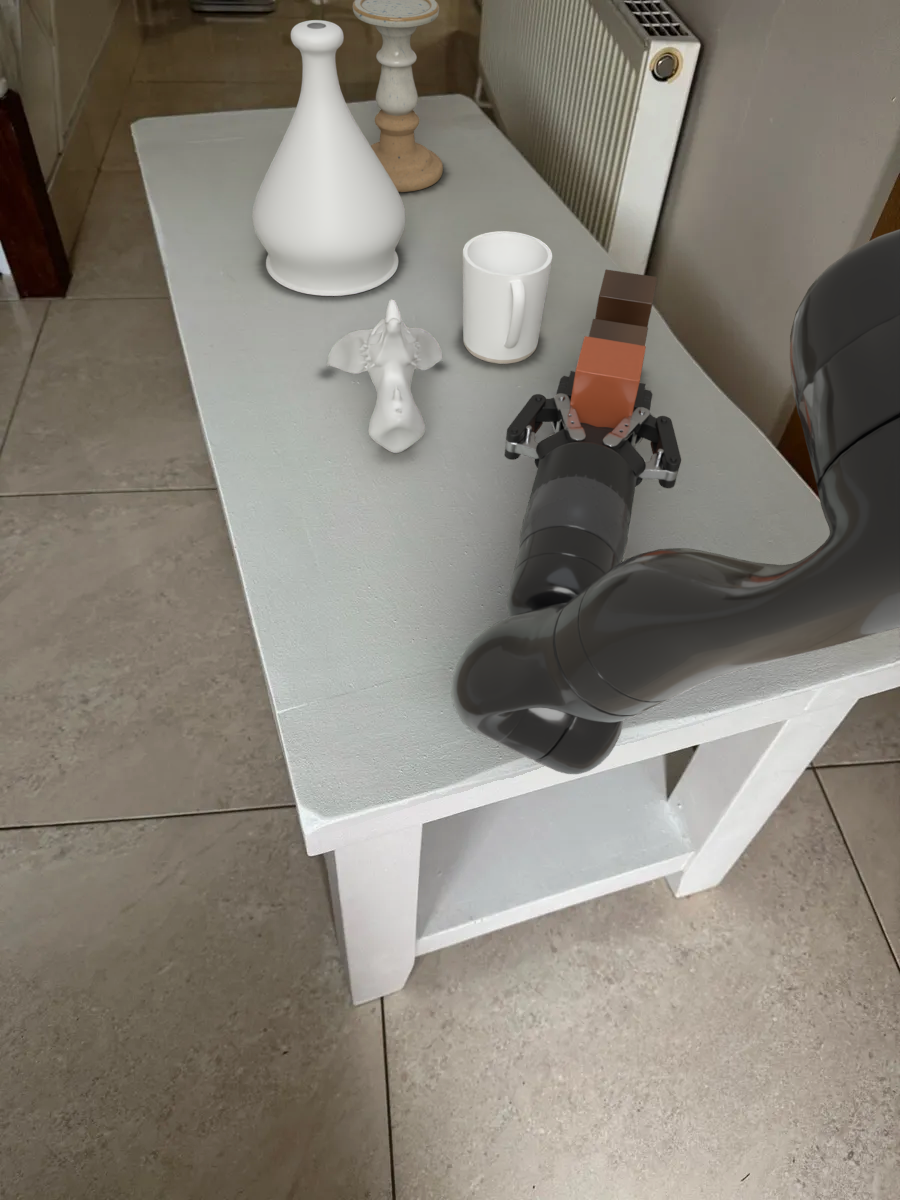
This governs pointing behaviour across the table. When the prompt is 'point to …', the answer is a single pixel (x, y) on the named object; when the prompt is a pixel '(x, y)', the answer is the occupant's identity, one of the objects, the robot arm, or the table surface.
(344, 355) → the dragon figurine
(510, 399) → the table surface
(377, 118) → the candle holder
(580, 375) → the terracotta block
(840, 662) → the table surface
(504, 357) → the mug
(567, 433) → the robot arm
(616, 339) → the walnut block mid
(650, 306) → the walnut block far
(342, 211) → the vase
